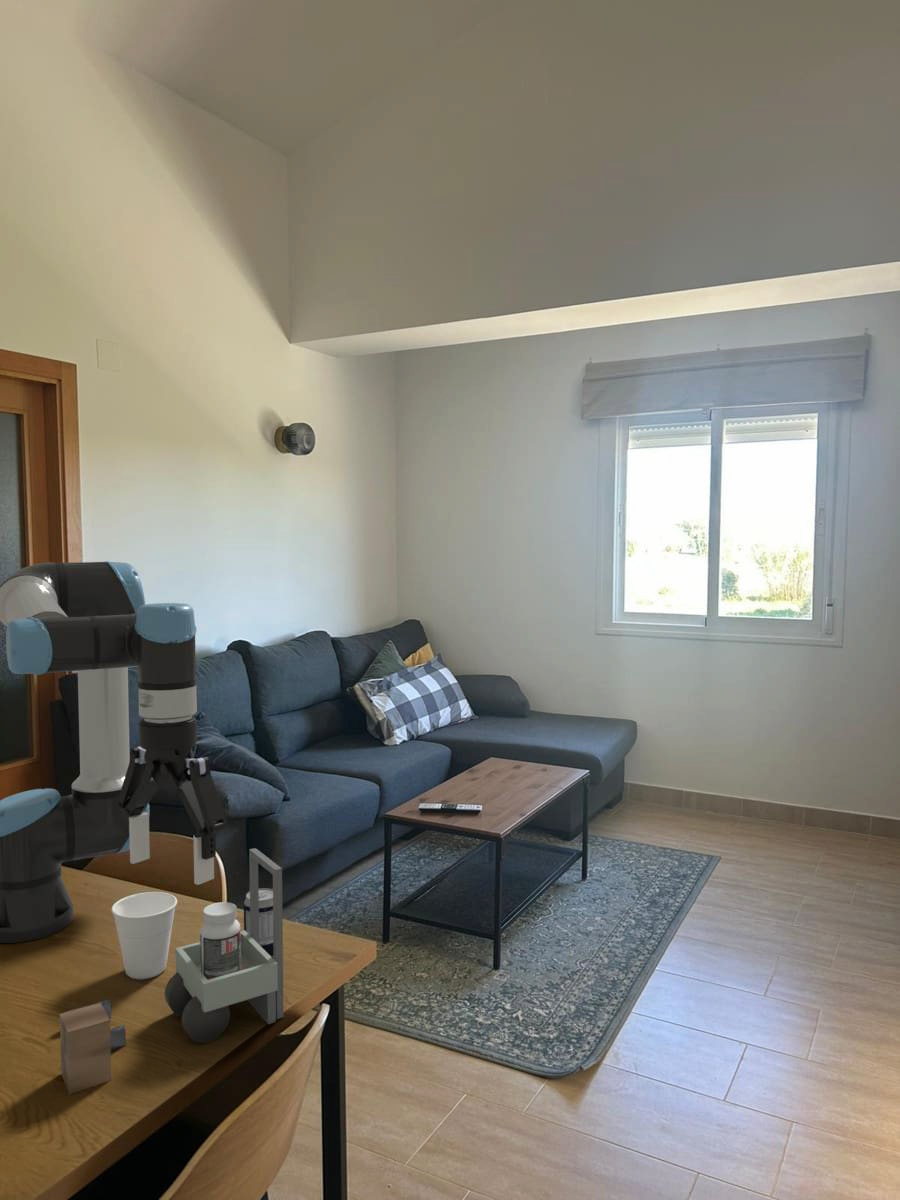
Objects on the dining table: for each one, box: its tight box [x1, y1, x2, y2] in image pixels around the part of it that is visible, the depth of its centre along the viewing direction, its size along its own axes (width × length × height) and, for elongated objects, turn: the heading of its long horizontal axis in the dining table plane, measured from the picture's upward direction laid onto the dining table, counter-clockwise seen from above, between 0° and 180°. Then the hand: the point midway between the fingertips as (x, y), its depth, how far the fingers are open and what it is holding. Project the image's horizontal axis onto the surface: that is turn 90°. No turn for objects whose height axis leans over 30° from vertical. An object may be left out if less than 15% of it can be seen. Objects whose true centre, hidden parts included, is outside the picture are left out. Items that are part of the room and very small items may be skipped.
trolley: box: [164, 847, 285, 1044], centre depth 126 cm, size 13×14×22 cm
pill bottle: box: [199, 901, 242, 980], centre depth 126 cm, size 6×6×10 cm
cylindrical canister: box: [243, 887, 274, 959], centre depth 141 cm, size 6×6×12 cm
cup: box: [111, 891, 178, 980], centre depth 140 cm, size 10×10×11 cm
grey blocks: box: [64, 998, 127, 1051], centre depth 121 cm, size 9×6×2 cm, turn 34°
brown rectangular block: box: [59, 1003, 112, 1095], centre depth 112 cm, size 5×5×8 cm
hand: (171, 870), depth 120 cm, fingers open, 13 cm apart
